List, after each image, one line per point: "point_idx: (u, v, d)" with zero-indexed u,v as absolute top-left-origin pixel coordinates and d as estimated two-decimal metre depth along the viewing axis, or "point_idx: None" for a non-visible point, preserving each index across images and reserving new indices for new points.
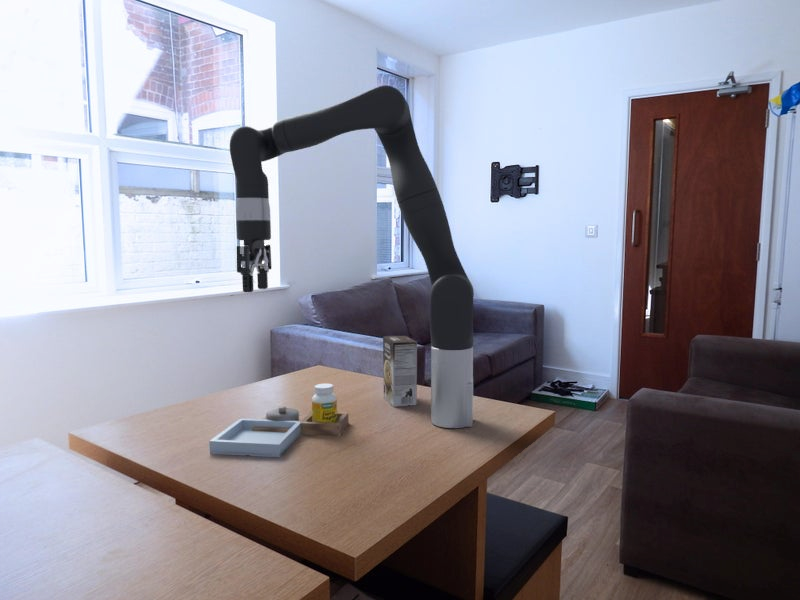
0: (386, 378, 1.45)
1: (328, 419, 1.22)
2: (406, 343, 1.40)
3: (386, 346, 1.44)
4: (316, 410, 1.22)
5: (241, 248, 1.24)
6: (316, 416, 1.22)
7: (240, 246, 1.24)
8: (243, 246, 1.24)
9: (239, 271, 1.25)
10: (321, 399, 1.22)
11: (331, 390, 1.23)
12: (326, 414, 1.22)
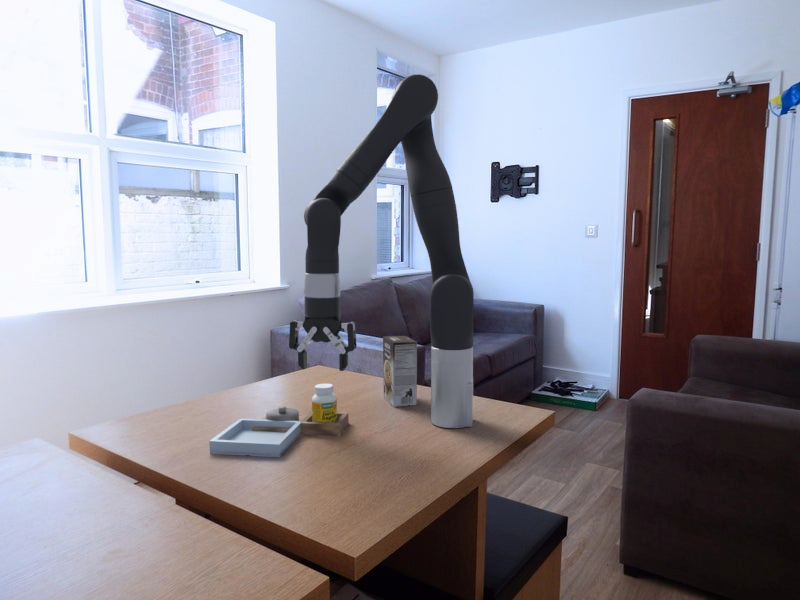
0: (386, 378, 1.45)
1: (328, 419, 1.22)
2: (406, 343, 1.40)
3: (386, 346, 1.44)
4: (316, 410, 1.22)
5: (353, 325, 1.21)
6: (316, 416, 1.22)
7: (352, 324, 1.21)
8: (353, 323, 1.22)
9: (353, 349, 1.21)
10: (321, 399, 1.22)
11: (331, 390, 1.23)
12: (326, 414, 1.22)
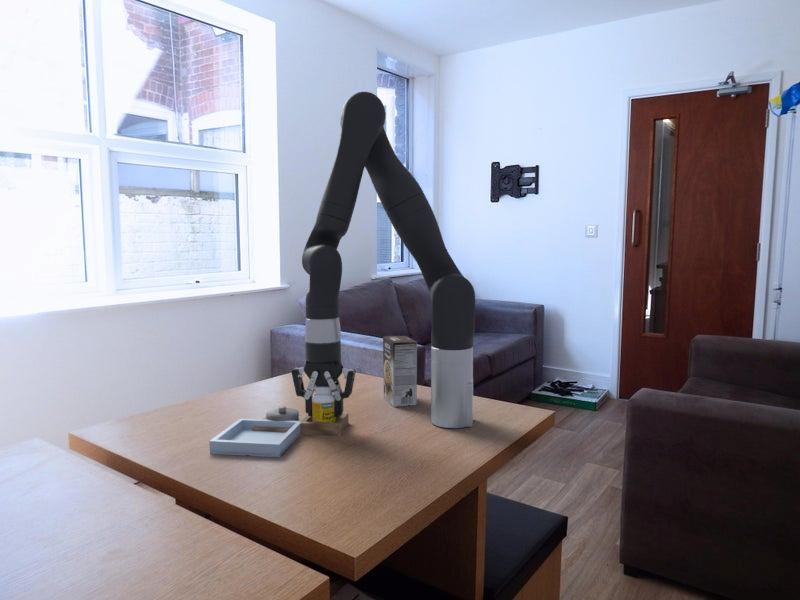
0: (386, 378, 1.45)
1: (328, 419, 1.22)
2: (406, 343, 1.40)
3: (386, 346, 1.44)
4: (316, 410, 1.22)
5: (354, 373, 1.22)
6: (316, 415, 1.22)
7: (353, 372, 1.22)
8: (354, 371, 1.23)
9: None
10: (321, 399, 1.22)
11: None
12: (326, 414, 1.22)
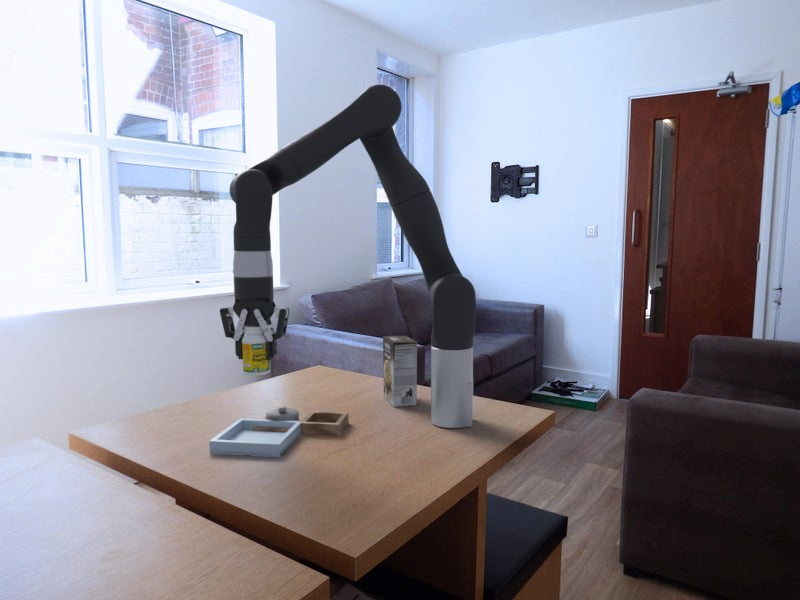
0: (386, 378, 1.45)
1: (258, 361, 1.12)
2: (406, 343, 1.40)
3: (386, 346, 1.44)
4: (246, 351, 1.12)
5: (287, 312, 1.13)
6: (246, 357, 1.13)
7: (286, 310, 1.12)
8: (287, 309, 1.13)
9: (281, 336, 1.13)
10: (250, 340, 1.12)
11: None
12: (256, 356, 1.12)
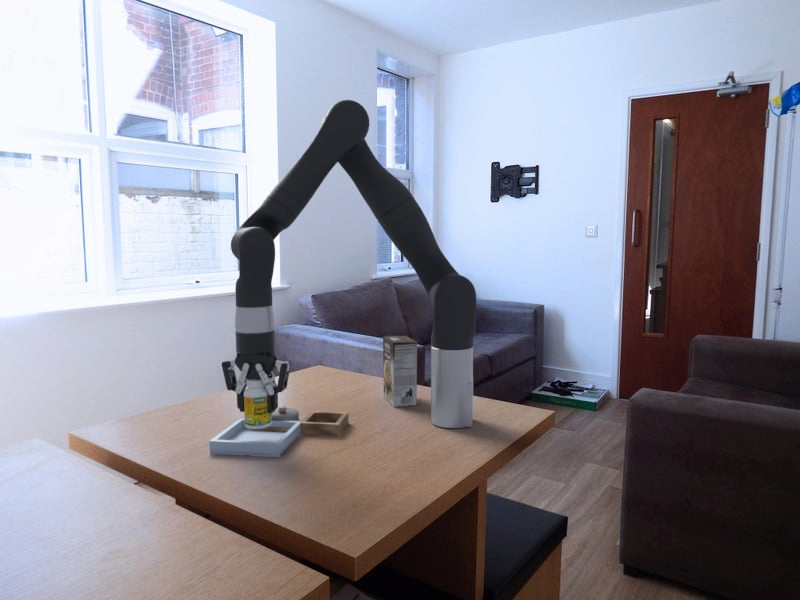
0: (386, 378, 1.45)
1: (260, 414, 1.14)
2: (406, 343, 1.40)
3: (386, 346, 1.44)
4: (248, 405, 1.14)
5: (288, 366, 1.14)
6: (247, 411, 1.14)
7: (287, 364, 1.14)
8: (288, 363, 1.14)
9: (282, 390, 1.14)
10: (252, 393, 1.13)
11: None
12: (258, 410, 1.13)
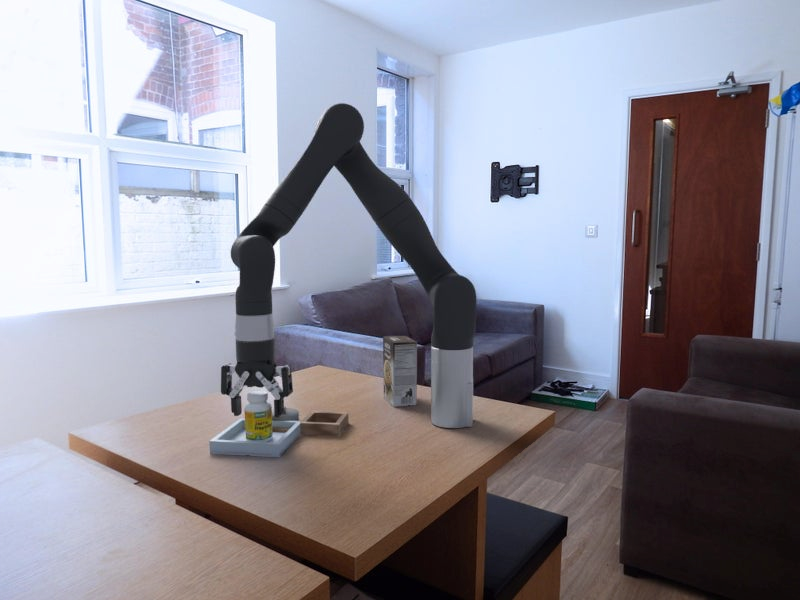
0: (386, 378, 1.45)
1: (261, 429, 1.14)
2: (406, 343, 1.40)
3: (386, 346, 1.44)
4: (249, 419, 1.14)
5: (288, 369, 1.14)
6: (248, 425, 1.14)
7: (287, 367, 1.14)
8: (288, 366, 1.14)
9: (289, 394, 1.14)
10: (253, 408, 1.13)
11: (265, 398, 1.15)
12: (258, 424, 1.14)
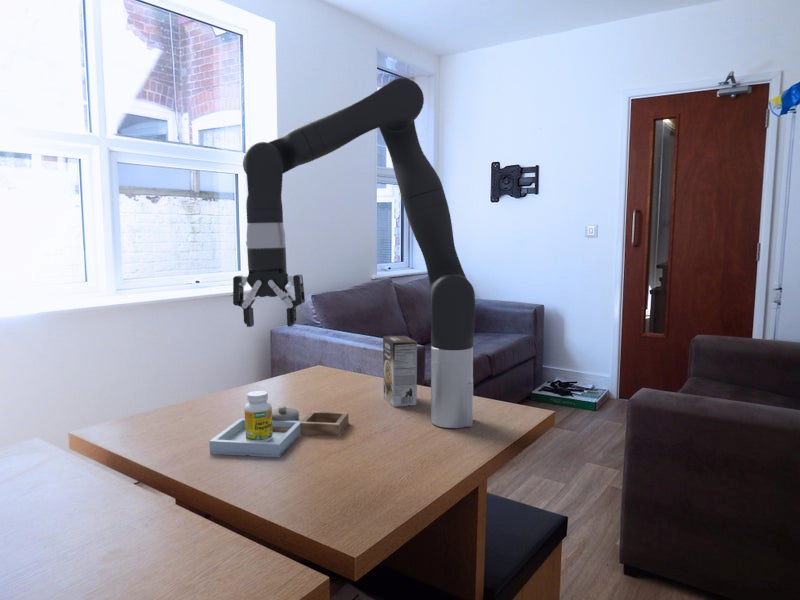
0: (386, 378, 1.45)
1: (261, 429, 1.14)
2: (406, 343, 1.40)
3: (386, 346, 1.44)
4: (249, 419, 1.14)
5: (300, 278, 1.15)
6: (248, 425, 1.14)
7: (299, 276, 1.15)
8: (300, 275, 1.15)
9: (301, 303, 1.15)
10: (253, 408, 1.13)
11: (265, 398, 1.15)
12: (259, 424, 1.14)
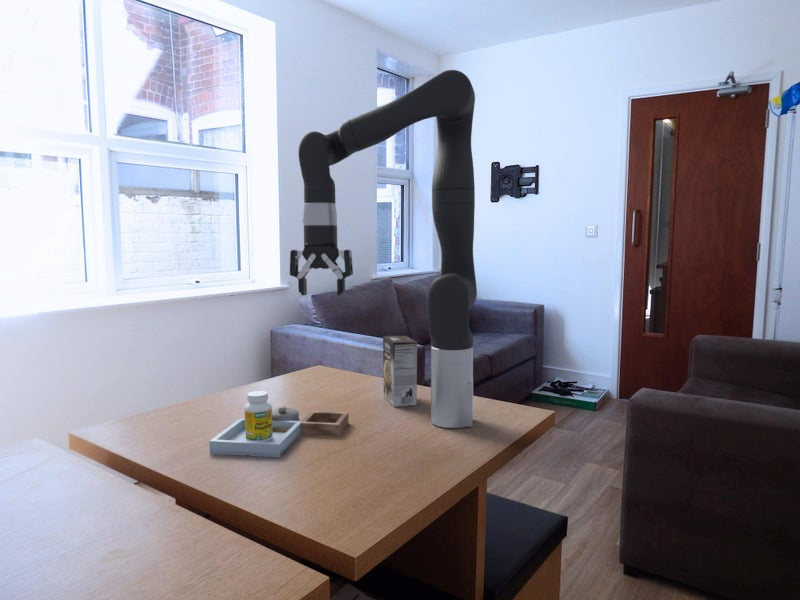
0: (386, 378, 1.45)
1: (261, 429, 1.14)
2: (406, 343, 1.40)
3: (386, 346, 1.44)
4: (249, 419, 1.14)
5: (350, 252, 1.30)
6: (248, 426, 1.14)
7: (349, 250, 1.30)
8: (349, 250, 1.30)
9: (350, 274, 1.30)
10: (253, 408, 1.13)
11: (265, 398, 1.15)
12: (259, 424, 1.14)
